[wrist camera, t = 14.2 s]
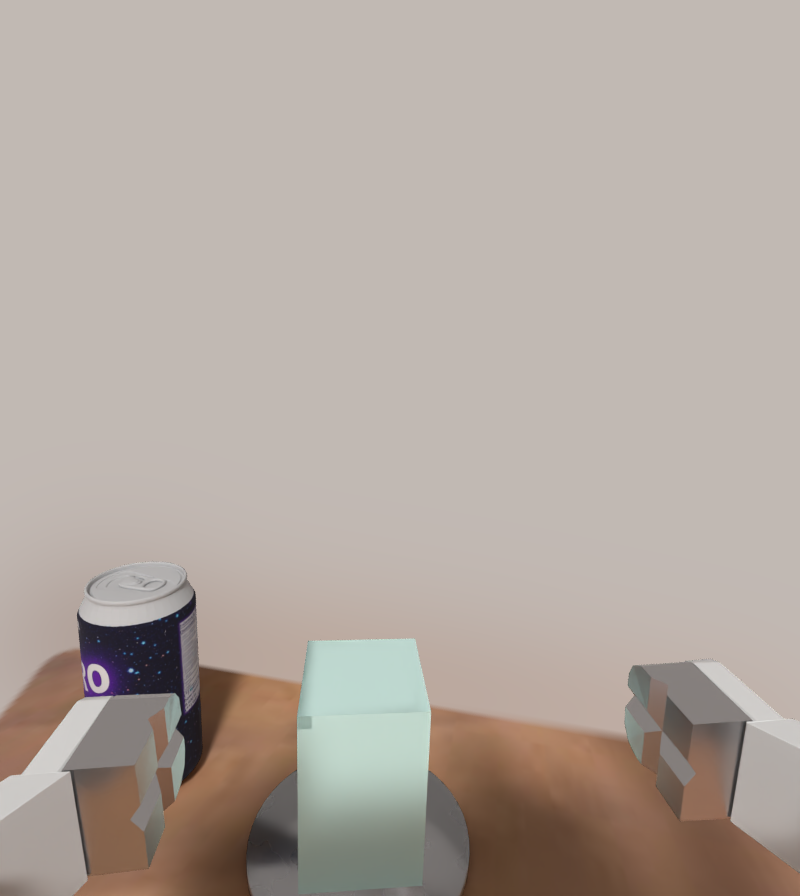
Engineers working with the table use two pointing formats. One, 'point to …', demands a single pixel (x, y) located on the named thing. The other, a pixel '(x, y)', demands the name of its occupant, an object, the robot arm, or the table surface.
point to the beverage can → (144, 641)
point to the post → (278, 890)
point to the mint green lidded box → (362, 766)
